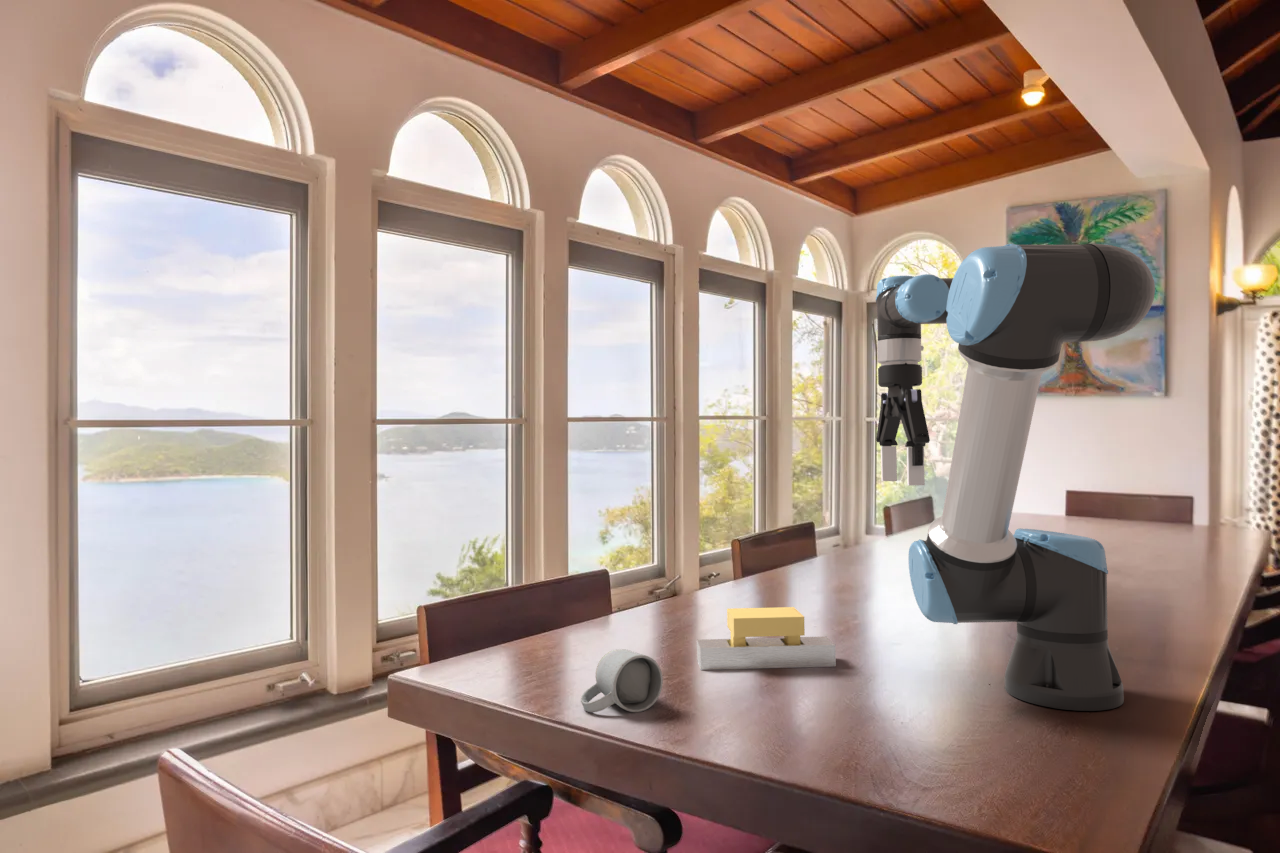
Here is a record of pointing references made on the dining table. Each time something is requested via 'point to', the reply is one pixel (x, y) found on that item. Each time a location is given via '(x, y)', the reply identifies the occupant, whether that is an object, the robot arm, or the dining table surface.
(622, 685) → the ceramic mug
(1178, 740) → the dining table surface
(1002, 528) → the robot arm
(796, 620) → the yellow bridge
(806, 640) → the rail
